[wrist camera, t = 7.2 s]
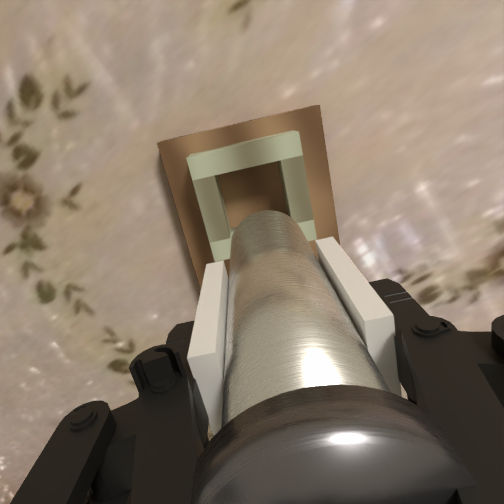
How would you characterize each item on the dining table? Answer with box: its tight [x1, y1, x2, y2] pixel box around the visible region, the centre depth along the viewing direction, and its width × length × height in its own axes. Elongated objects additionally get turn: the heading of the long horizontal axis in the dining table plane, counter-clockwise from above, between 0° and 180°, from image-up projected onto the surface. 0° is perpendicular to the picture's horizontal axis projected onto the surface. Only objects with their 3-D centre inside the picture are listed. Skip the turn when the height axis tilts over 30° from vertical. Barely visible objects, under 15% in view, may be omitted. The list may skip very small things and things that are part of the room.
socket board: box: [157, 105, 340, 289], centre depth 35 cm, size 14×24×5 cm, turn 12°
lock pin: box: [191, 210, 478, 504], centre depth 13 cm, size 5×5×15 cm
